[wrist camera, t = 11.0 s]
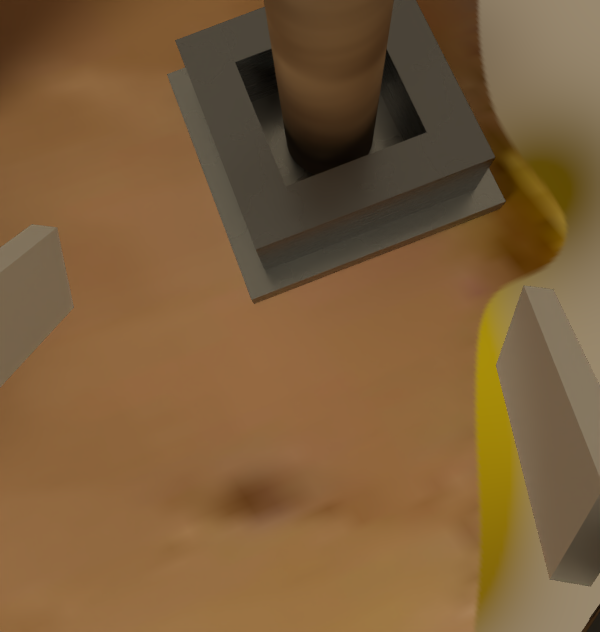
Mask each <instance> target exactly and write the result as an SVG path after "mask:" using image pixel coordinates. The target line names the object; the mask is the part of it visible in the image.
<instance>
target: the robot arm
mask: <svg viewBox="0 0 600 632" xmlns="http://www.w3.org/2000/svg"><path fill="white" fill-rule="evenodd" d="M73 308H74V306H73V302H72V297H71V292H70V287H69V283H68V278H67V273H66V268H65V263H64V259H63V254H62V249H61V244H60V240H59V235H58V230H57V227H49V226H41V225H33V224H32V225H30V226H29V227H28V228H26V229H25V230H23V231H22V232H21V233H19V234H18V235H17V236H15V237H14V238H13V239H11V240H10V241H8V242H7V243H6V244H4V245H3V246H2V247H0V387H1V386H2V385H3V384H4V383H5V382H6V381H7V379H8V378H9V377H10V376H11V375H12V374H13V373H14V372H15V371H16V370H17V369H18V367H19V366H20V365H21V364H22V363H23V362H24V361H25V360H26V359H27V358H28V357H29V356H30V354H31V353H32V352H33V351H34V350H35V349H36V348H37V347H38V346H39V345H40V344H41V342H42V341H43V340H44V339H45V338H46V337H47V336H48V335H49V334H50V333H51V332H52V331H53V329H54V328H55V327H56V326H57V325H58V324H59V323H60V322H61V321H62V320H63V319H64V318H65V316H66V315H67V314H68V313H69V312H70V311H71V310H72V309H73ZM496 367H497V371H498V375H499V379H500V383H501V386H502V391H503V395H504V399H505V403H506V407H507V411H508V415H509V419H510V423H511V427H512V431H513V435H514V439H515V443H516V447H517V451H518V455H519V459H520V463H521V467H522V471H523V474H524V479H525V483H526V487H527V490H528V495H529V499H530V503H531V507H532V510H533V515H534V518H535V522H536V527H537V530H538V534H539V538H540V543H541V546H542V550H543V554H544V558H545V562H546V566H547V570H548V574H549V578H550V580H556V581H562V582H567V583H574V584H579V585H585V586H591V585H592V584H593V582H594V581H595V579H596V578H597V576H598V575H599V573H600V385H599V383H598V381H597V379H596V377H595V375H594V373H593V371H592V369H591V367H590V365H589V362H588V360H587V358H586V356H585V354H584V352H583V350H582V348H581V346H580V344H579V342H578V340H577V338H576V336H575V333H574V332H573V329H572V327H571V325H570V323H569V321H568V319H567V317H566V315H565V313H564V311H563V309H562V306H561V304H560V302H559V300H558V298H557V296H556V294H555V292H554V290H553V289H547V288H539V287H531V286H523V289H522V292H521V295H520V298H519V301H518V303H517V306H516V309H515V312H514V315H513V318H512V321H511V324H510V327H509V330H508V333H507V335H506V338H505V341H504V344H503V347H502V350H501V353H500V356H499V359H498V361H497V364H496ZM582 632H600V605H599V606H598V607H597V609H596V610H595V611H594V613H593V614H592V616H591V617H590V620H589V622H588V623H587V624H586V626H585V628H584V629H583V630H582Z"/></svg>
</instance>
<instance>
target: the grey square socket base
mask: <svg viewBox="0 0 600 632" xmlns="http://www.w3.org/2000/svg"><path fill="white" fill-rule="evenodd" d="M175 41H176V44H177V46H178V49H179V51H180V54H181V57H182V59H183V62H184V65H185V68H183V69H180V70H177V71H175V72H172V73H170V74H167V75H168V78H169V81H170V83H171V86H172V89H173V91H174V94H175V97H176V99H177V102H178V105H179V107H180V110H181V113H182V115H183V118H184V121H185V123H186V126H187V129H188V131H189V134H190V137H191V139H192V142H193V145H194V147H195V150H196V153H197V155H198V158H199V161H200V163H201V166H202V169H203V171H204V174H205V177H206V179H207V182H208V185H209V187H210V190H211V193H212V195H213V198H214V201H215V203H216V206H217V209H218V211H219V214H220V217H221V219H222V222H223V225H224V227H225V230H226V233H227V235H228V238H229V241H230V244H231V246H232V249H233V252H234V254H235V257H236V260H237V262H238V265H239V268H240V270H241V273H242V276H243V278H244V281H245V284H246V286H247V289H248V292H249V294H250V297H251V300H252V301H253V303H254V304H255V303H257V302H260V301H262V300H265V299H268V298H270V297H273V296H275V295H278V294H281V293H283V292H286V291H288V290H291V289H293V288H296V287H299V286H301V285H304V284H306V283H309V282H312V281H314V280H317V279H319V278H322V277H324V276H327V275H330V274H332V273H335V272H337V271H340V270H343V269H345V268H348V267H350V266H353V265H355V264H358V263H361V262H363V261H366V260H368V259H371V258H374V257H376V256H379V255H381V254H384V253H386V252H389V251H392V250H394V249H397V248H399V247H402V246H405V245H407V244H410V243H412V242H415V241H417V240H420V239H423V238H425V237H428V236H430V235H433V234H436V233H438V232H441V231H443V230H446V229H448V228H451V227H454V226H456V225H459V224H461V223H464V222H467V221H469V220H472V219H474V218H477V217H479V216H482V215H485V214H487V213H490V212H492V211H495V210H498V209H500V208H501V207H502V205H503V204H504V203H505V202H506V201H505V199H504V197H503V195H502V193H501V191H500V189H499V187H498V185H497V183H496V181H495V179H494V177H493V175H492V173H491V171H490V169H489V167H490V165H491V163H492V162H493V160H494V158H495V156H494V154H493V152H492V150H491V148H490V146H489V144H488V142H487V140H486V138H485V136H484V134H483V132H482V130H481V128H480V126H479V124H478V122H477V120H476V118H475V116H474V114H473V112H472V110H471V108H470V106H469V104H468V102H467V100H466V98H465V96H464V94H463V93H462V91H461V89H460V87H459V85H458V83H457V81H456V79H455V77H454V75H453V73H452V71H451V69H450V67H449V65H448V63H447V61H446V59H445V57H444V55H443V53H442V51H441V49H440V47H439V45H438V43H437V41H436V39H435V37H434V35H433V33H432V31H431V29H430V27H429V25H428V23H427V21H426V19H425V17H424V15H423V13H422V11H421V10H420V8H419V6H418V4H417V2H416V0H394V3H393V9H392V16H391V23H390V29H389V36H388V43H387V49H386V56H385V63H384V69H383V76H382V83H381V89H380V96H379V103H378V109H377V116H376V123H375V129H374V136H373V142H372V147H371V149H370V152H369V154H368V155H366V156H364V157H361V158H358V159H356V160H353V161H351V162H348V163H345V164H343V165H340V166H338V167H335V168H332V169H330V170H327V171H325V172H322V173H319V174H317V175H315V174H312V173H310V172H308V171H306V170H304V169H303V168H301V167H300V166H299V165H298V164H297V163H296V162H295V161H294V159H293V158H292V157H291V155H290V153H289V150H288V147H287V142H286V136H285V130H284V123H283V117H282V111H281V105H280V98H279V92H278V86H277V80H276V73H275V67H274V61H273V55H272V48H271V42H270V36H269V30H268V23H267V17H266V11H265V7H263V8H260V9H257V10H255V11H252V12H249V13H247V14H244V15H241V16H239V17H236V18H233V19H231V20H228V21H225V22H223V23H220V24H218V25H215V26H212V27H210V28H207V29H204V30H202V31H199V32H196V33H194V34H191V35H188V36H186V37H183V38H180V39H178V40H175Z"/></svg>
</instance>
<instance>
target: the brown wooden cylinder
mask: <svg viewBox="0 0 600 632" xmlns="http://www.w3.org/2000/svg"><path fill="white" fill-rule="evenodd" d="M393 3H394V0H264V5H265V11H266V17H267V23H268V30H269V36H270V42H271V48H272V55H273V61H274V67H275V73H276V80H277V86H278V92H279V98H280V105H281V111H282V117H283V123H284V130H285V136H286V142H287V147H288V150H289V153H290V155H291V157H292V158H293V159H294V161H295V162H296V163H297V164H298V165H299V166H300V167H301V168H303V169H304V170H306V171H308V172H310V173H312V174H315V175H317V174H319V173H322V172H325V171H327V170H330V169H332V168H335V167H338V166H340V165H343V164H345V163H348V162H351V161H353V160H356V159H358V158H361V157H364V156H366V155H368V154H369V152H370V149H371V147H372V142H373V136H374V129H375V123H376V116H377V109H378V103H379V96H380V89H381V83H382V76H383V69H384V63H385V56H386V49H387V43H388V36H389V29H390V23H391V16H392V9H393Z"/></svg>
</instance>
